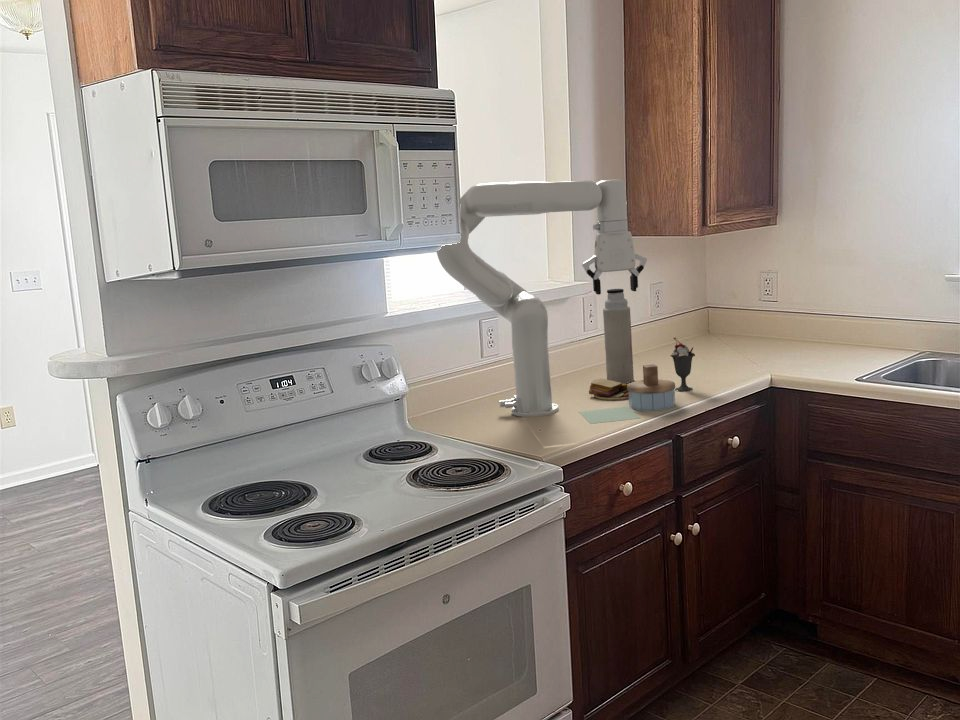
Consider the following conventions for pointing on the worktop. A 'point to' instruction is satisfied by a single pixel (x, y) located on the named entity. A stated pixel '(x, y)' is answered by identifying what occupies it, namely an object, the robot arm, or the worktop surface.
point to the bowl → (652, 401)
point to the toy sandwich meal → (608, 390)
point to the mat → (609, 415)
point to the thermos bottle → (618, 337)
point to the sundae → (682, 364)
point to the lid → (650, 382)
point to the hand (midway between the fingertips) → (615, 292)
